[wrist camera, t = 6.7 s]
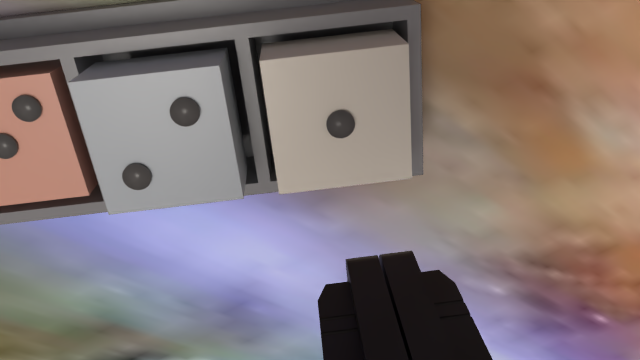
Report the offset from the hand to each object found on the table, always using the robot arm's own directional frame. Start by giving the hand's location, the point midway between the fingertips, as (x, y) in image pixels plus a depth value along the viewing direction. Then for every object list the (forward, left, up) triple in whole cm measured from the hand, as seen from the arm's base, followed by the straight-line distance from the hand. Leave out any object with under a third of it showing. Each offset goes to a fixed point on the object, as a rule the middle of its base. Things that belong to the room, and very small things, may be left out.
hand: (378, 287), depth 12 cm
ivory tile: (0, 0, -15) cm, 15 cm away
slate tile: (+6, +5, -15) cm, 17 cm away
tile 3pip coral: (+12, +9, -17) cm, 23 cm away
